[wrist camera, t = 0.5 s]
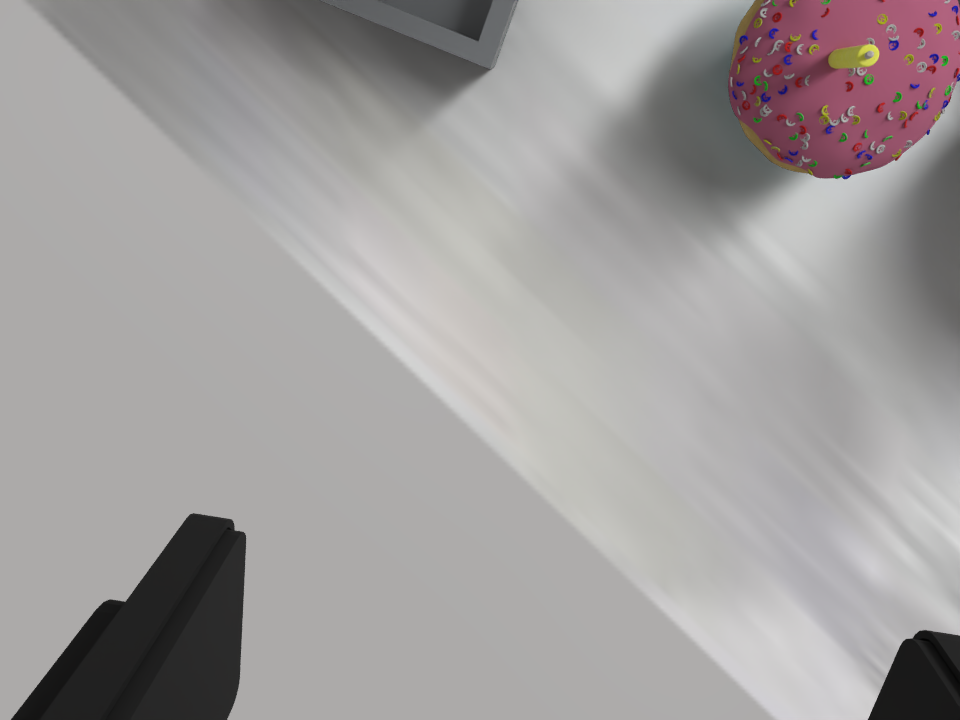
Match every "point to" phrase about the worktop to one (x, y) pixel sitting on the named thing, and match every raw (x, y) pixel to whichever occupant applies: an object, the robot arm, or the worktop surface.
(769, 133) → the cupcake
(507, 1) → the bin
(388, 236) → the worktop surface
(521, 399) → the worktop surface
